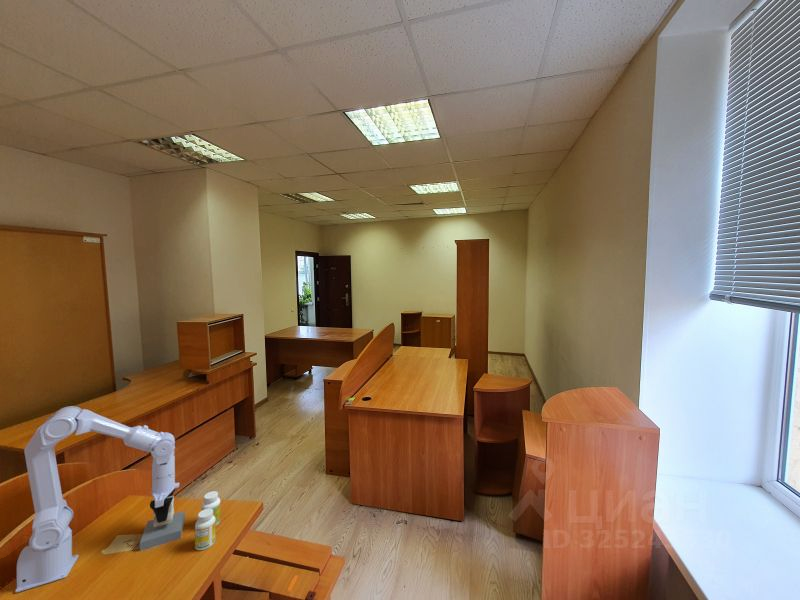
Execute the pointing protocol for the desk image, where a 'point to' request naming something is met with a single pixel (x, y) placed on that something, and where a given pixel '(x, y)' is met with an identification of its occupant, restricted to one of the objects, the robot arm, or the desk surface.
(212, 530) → the supplement bottle
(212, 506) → the supplement bottle
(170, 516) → the cream block
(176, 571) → the desk surface
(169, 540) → the base block
